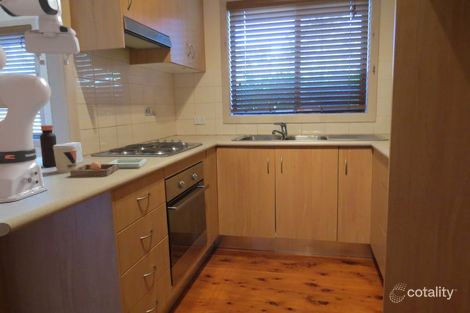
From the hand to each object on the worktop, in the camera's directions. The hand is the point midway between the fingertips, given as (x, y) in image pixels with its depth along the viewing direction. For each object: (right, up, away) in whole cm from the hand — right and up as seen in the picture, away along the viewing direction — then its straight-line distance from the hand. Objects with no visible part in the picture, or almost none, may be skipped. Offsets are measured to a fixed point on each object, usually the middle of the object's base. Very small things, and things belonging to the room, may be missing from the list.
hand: (54, 64), depth 137 cm
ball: (+14, -43, +6) cm, 45 cm away
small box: (-9, -42, +34) cm, 55 cm away
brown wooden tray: (+14, -45, +7) cm, 48 cm away
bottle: (-16, -43, +25) cm, 52 cm away
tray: (+23, -43, +24) cm, 54 cm away
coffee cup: (-1, -45, +12) cm, 47 cm away
